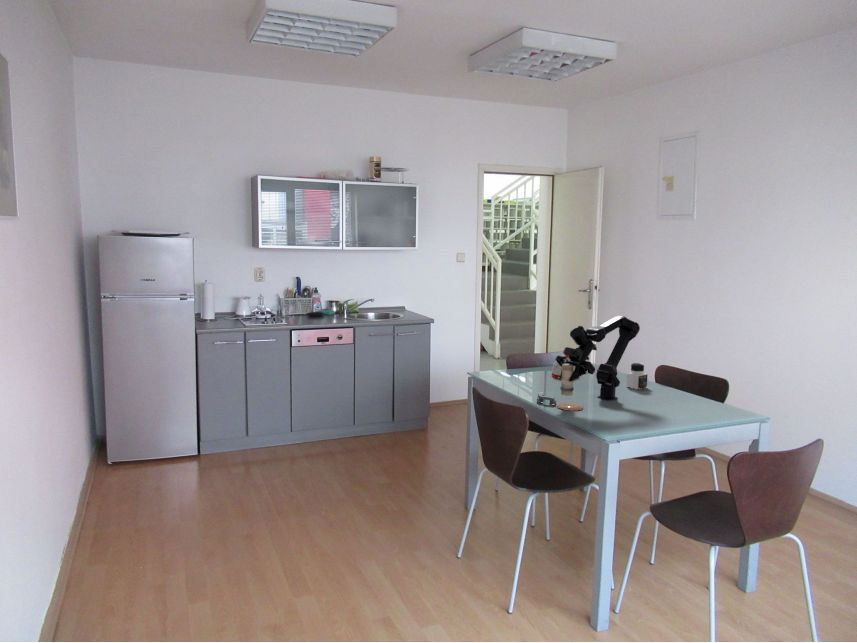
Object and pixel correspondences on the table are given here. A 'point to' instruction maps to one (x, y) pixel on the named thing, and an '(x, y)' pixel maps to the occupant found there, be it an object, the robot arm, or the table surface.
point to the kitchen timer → (559, 367)
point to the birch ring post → (567, 380)
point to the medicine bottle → (637, 377)
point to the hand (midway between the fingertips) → (565, 379)
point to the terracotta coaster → (570, 406)
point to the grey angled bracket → (545, 398)
